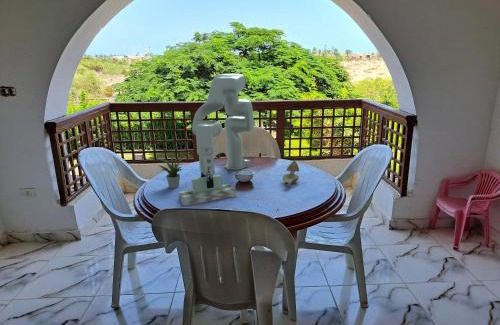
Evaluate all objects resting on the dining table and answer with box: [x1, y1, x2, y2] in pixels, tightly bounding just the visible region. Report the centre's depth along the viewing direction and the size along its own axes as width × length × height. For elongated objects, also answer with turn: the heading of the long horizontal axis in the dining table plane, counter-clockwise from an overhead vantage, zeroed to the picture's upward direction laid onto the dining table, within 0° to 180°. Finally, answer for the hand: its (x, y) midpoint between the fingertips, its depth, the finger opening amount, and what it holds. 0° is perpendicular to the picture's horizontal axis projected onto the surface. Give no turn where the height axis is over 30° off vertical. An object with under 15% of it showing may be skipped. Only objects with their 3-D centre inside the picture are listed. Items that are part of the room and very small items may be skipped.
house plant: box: [157, 156, 186, 189], centre depth 178 cm, size 14×14×16 cm
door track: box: [178, 183, 237, 206], centre depth 163 cm, size 26×10×4 cm, turn 114°
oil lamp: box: [282, 159, 300, 187], centre depth 180 cm, size 9×21×10 cm, turn 162°
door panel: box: [191, 174, 223, 194], centre depth 162 cm, size 14×2×9 cm, turn 113°
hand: (207, 184), depth 162 cm, fingers open, 9 cm apart
